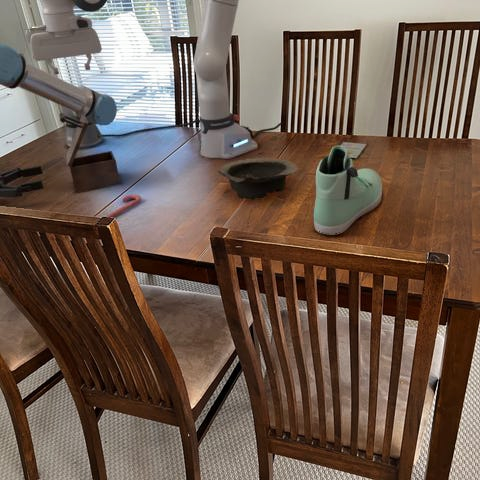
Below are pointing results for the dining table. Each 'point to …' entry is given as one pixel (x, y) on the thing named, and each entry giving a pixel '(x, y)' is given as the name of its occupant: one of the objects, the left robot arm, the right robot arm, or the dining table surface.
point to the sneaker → (343, 192)
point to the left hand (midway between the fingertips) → (42, 176)
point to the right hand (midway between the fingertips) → (72, 71)
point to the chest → (94, 171)
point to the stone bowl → (257, 176)
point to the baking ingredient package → (353, 148)
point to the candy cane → (126, 205)
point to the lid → (75, 136)
